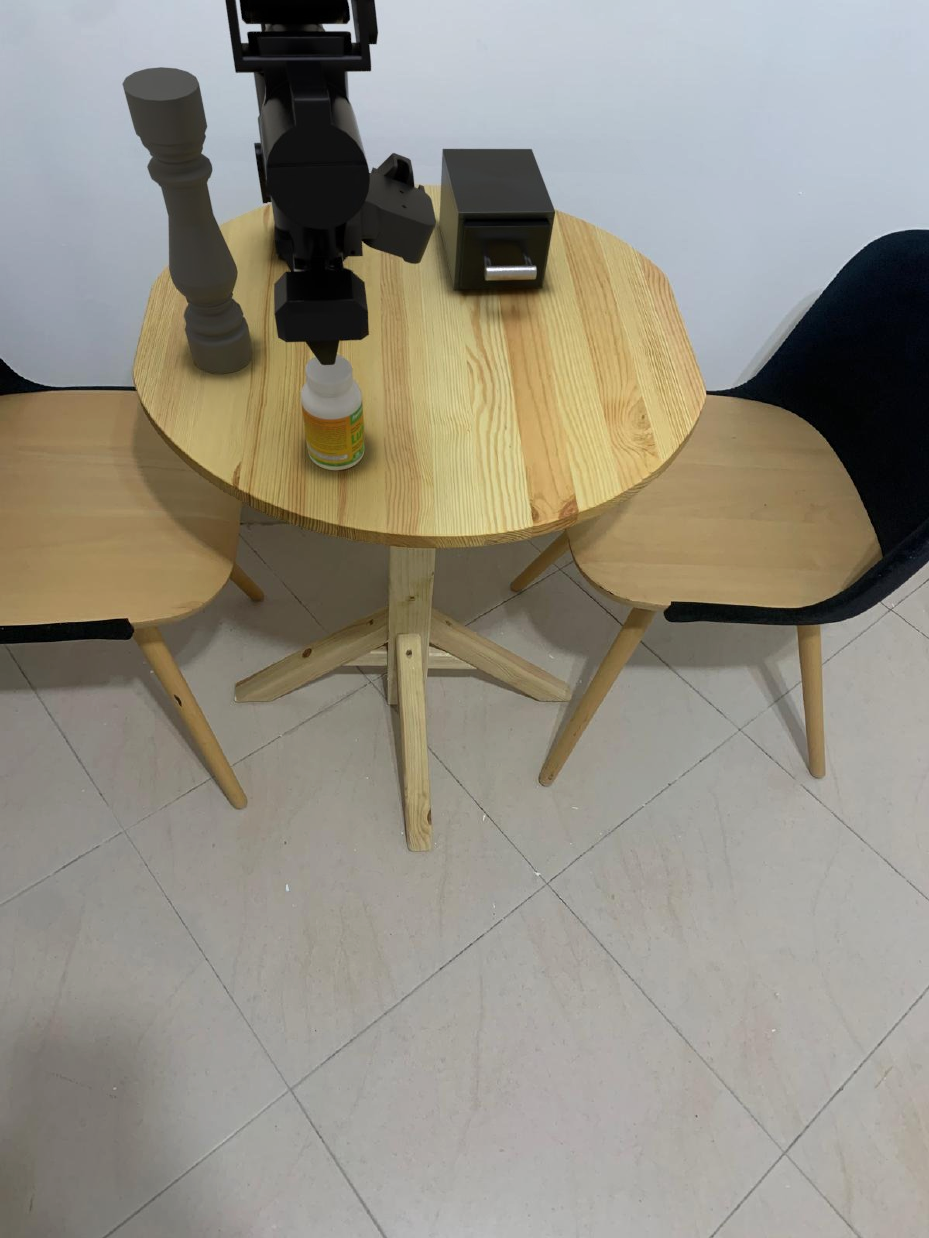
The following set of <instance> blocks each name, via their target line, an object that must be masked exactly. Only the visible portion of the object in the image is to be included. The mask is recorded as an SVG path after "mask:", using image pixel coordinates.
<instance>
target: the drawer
mask: <svg viewBox="0 0 929 1238" xmlns="http://www.w3.org/2000/svg"><path fill="white" fill-rule="evenodd" d="M550 229H551V225H550V222H549V220H539V219H469V220H465V221H464V223H463V237H462V252H461V266H460V281H459V284H460V288H461V289H475V290H490V289H489V288H519V289H534V288H533V287H541V283H542V277H543V271H544V265H545V259H546V253H547V247H548V241H549V235H550Z"/></svg>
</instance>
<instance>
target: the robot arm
mask: <svg viewBox="0 0 929 1238" xmlns="http://www.w3.org/2000/svg"><path fill="white" fill-rule="evenodd" d="M224 1H225V9H226V16H227V23H228V31H229V37H230V44H231V51H232V57H233V65H234V71H235V73H236V74H252V73H253V79H254V87H255V94H256V101H257V107H258V117H257V125H258V133H259V142H253V145H254V155H255V162H256V168H257V175H258V181H259V187H260V195H261V201H262V204H268V203H271V208H272V217H273V223H274V227H273V228H274V229H273V230H274V232H273V234H274V235H273V236H274V246H275V254H276V258H278V259H279V260H284V262H285V263H286V266H287V268H288V271H287V270H286V271H284V272H283V274H282V275H281V276H280V277H279V278H278V279H277V280H276V281H275V282H274V283H273V292H274V293H273V305H274V306H273V310H274V311H273V313H274V320H275V327H276V334H277V338H278V339H280V340H282V341H284V342H285V343H305V344H306V345H307V347H308V348H309V349H310V351H311V353H312V354H313V355H314V357H316V358H317V359H318V361H319V362H320V363H321V364H322V365H334V364H335V361H336V356H337V355H338V350H339V346H340V342H343V341H344V342H345V341H362V340H364V339H365V338H367V337H368V336H370V327H369V309H368V300H367V293H366V292H367V289H366V282H365V281H364V280H363V279H361V278H360V277H359V276H358V275H357V274H356V273H355V272H354V271H353V270H352V269H350V268H347V267H344V266H345V265H344V262H345V260H347V258H348V257H350V258H351V257H363V256H364V252H363V244H364V245H365V246H367V247H369V248H371V249H374V250H377V251H380V252H383V253H386V254H389V255H393V256H395V257H398V258H400V259H402V261H403V262H405V263H408V264H412V265H418V264H420V263H421V262H422V259H423V257H424V255H425V252H426V249H427V247H428V244H429V242H430V240H431V238H432V235H433V232H434V230H435V228H436V225H437V219H436V214H435V210H434V205H433V200H432V198H431V196H430V195H429V194H428V193H427V192H426V190H425V186H424V185H422V184H418V186H417V187H415V176H414V170H413V164H412V160H411V159H410V158H409V157H406V156H403V155H402V154H401V155H400V154H398V153H396V152H392V153H391V154H390V155H389V156H388V157H387V158H386V159H385V160H383V162H382V163H381V164H380V165H379V166H378V167H377V168H376V167H372V168H371V171H370V168H369V164H368V161H367V156H366V153H365V152H366V151H365V148H364V144H363V141H362V136H361V132H360V129H359V125H358V121H357V117H356V114H355V111H354V108H353V106H352V103H351V101H350V93H349V76H348V75H349V74H348V73H349V72H353V73H354V72H355V73H356V72H372V57H371V46H370V45H377V44H378V36H379V27H378V19H377V18H378V17H377V10H376V9H377V8H376V0H350V4H349V0H239V8H240V9H239V10H240V17H241V21H242V22H243V23H244V24H245V25H260V30H258V31H257V30H253V31H252V30H249V31H247V32H246V37H247V42H242V37H241V36H242V35H241V30H240V29H241V28H240V21H239V13H238V6H237V5H238V4H237V0H224ZM350 6H351V9H350ZM350 10H351V11H350ZM351 13H352V23H353V28H354V37H355V42H353V41H352V33H351V31H348V30H326V29H325V28H324V25H348V24H349V22H350V21H351Z"/></svg>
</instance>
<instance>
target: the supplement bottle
mask: <svg viewBox="0 0 929 1238" xmlns="http://www.w3.org/2000/svg"><path fill="white" fill-rule="evenodd" d="M304 371H305V382H304V383H303V385H302V388H301V391H300V402H301V403H300V404H301V412H302V419H303V426H304V433H305V441H306V448H307V453H308V456H309V458H310V460H311V462H313V463H314V464H315V465H317V466H318V467H320V468H322V469H325V470H328V471H341V470H347V469H350V468H351V467H354V466H356V465H357V464H358V463H359V462H360V461H361V460H362V458H363V457H364V454H365V449H366V448H365V447H366V446H365V425H364V424H365V423H364V422H365V421H364V405H363V404H364V403H363V392H362V389H361V387H360V385H359V383H358V382H357V381H356V380H355V379H354V372H353V366H352V363H351V362H350V361H349V360H348V359H347V358H346V357H344V356H342V355H339V354H337V356H336V361H335V364H334V365H322V364H321V363H320V362H319V361H318V359H317V358H316V356H314V357H311V358H310V359H309V360H308V361H307V363H306V364H305V369H304Z"/></svg>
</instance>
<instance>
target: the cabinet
mask: <svg viewBox="0 0 929 1238" xmlns="http://www.w3.org/2000/svg"><path fill="white" fill-rule="evenodd" d="M441 153H442V154H441V172H440V173H441V175H440V177H441V179H440V196H439V197H440V198H439V201H440V202H439V223H438V225H439V230H440V234H441V239H442V244H443V248H444V252H445V256H446V262H447V266H448V271H449V274H450V279H451V283H452V288H453V291H468V290H469V291H470V290H472V291H473V290H474V291H475V290H476V289H461V288H460V284H459V281H460V266H461V252H462V237H463V223H464V221H465V220H469V219H539V220H549V222H550V225H551V229H550V235H549V241H548V247H547V253H546V259H545V265H544V271H543V277H542V283H541V287H533V288H532V289H543V287H544V283H545V277H546V276H545V275H546V270H547V265H548V259H549V258H548V257H549V252H550V247H551V241H552V235H553V229H554V222H555V217H556V216H555V215H556V209H555V207H554V205H553V201H552V199H551V197H550V193H549V191H548V189H547V186H546V183H545V180H544V178H543V175H542V172H541V170H540V167H539V164H538V162H537V159H536V157H535V154H534V151H533V148H442V152H441ZM512 289H513V290H514V289H516V290H517V289H519V290H520V288H489V289H488V290H512Z"/></svg>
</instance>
